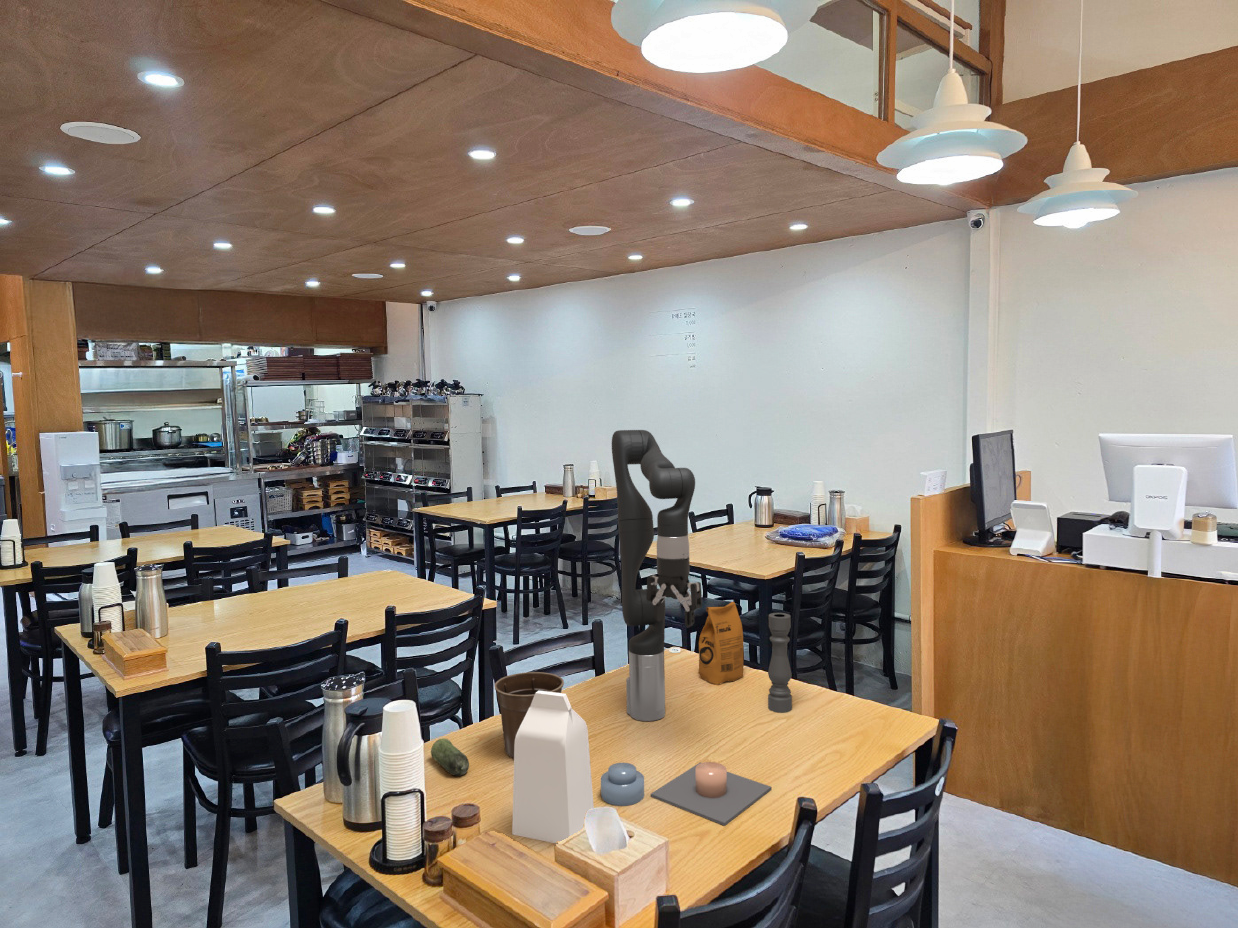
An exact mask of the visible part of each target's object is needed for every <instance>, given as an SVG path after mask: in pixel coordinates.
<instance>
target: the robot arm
mask: <svg viewBox="0 0 1238 928" xmlns="http://www.w3.org/2000/svg"><path fill="white" fill-rule="evenodd" d="M611 455H612V463H613V471H614V477H615V479H614V480H615V486H616V501H617V525H618V526H617V527H618V528H617V529H618V540H619V541H618V542H619V548H620V549H619V550H620V559H621V560H620V561H621V562H620V564H621V609H622V610H621V611H622V618H623V621H624V623H625V625H626V626H627V627H639V626H647V628H645V629H644V630H643V631H641V632H640V633H638V634H636V635H634V636H632V637H631V638H629V641H628V667H629V668H628V669H629V670H628V671H629V672H628V674H629V675H628V677H627V678H626V679H625V680H626V683H625V685H626V714H628V715H629V716H630V717H631V718H633V719H634V720H637V721H643V722H654V721H658V720H661V719H663V718H664V717H665V716H666V696H665V695H666V685H665V683H666V682H665V680H666V678H665V677H666V676H665V637H666V636H665V631H666V629H665V625H666V623H665V622H666V601H665V599H666V598H668V599H670V598H671V599H673V600H678V602H679V603H680V604H681V605H682V606H683V607H684V609H685V611H684V626H685V628H690V627H693V625H694V624H695V611H696V610H699V609H701V608H702V607H703V597H702V595H703V594H702V584H701V582H700V581H696V582H691V581H690V579H689V575H690V540H689V523H688V522H689V514H690V513H689V512H690V507H691V505H692V500H693V496H694V493H695V488H696V477H695V475H694V473H693V471H692V470H691V469H689V468H687V467H676V466H675V465H674V464H673V463H672V462H671V461H670V459H669V458H667V456H665V455H664V453H663V452H662V450H661V448H660V445H659V444H658V441H657V440H656V439H655V436H654V435H653V434H652V433H651V432H650V431H648V430H646V429H620V430H616V431H613V434H612V437H611ZM629 465H639V466H640V471H641V473H642V475H643V476H644V477H645V479H646V480H647V481H648V484H649V485H648V487H649V491H650V494H651V496H653V497H654V498H655V499H658V500H671V499H676V501H675V503H674V504H673V506H670V507H668V508H667V507H666V508H663V509H661V510H660V511H658V513H657V516H656V519H657V538H656V573H657V574H654V575H653V574H652V575H649V576H647V577H646V588H643V589H642V588H640V589H636V585H637V584H636V583H637V578H638V577H637V576H638V573H639V570H640V567H641V566H642V563H643V561H644V560H645V558H646V556H647V554H648V552H649V551H650V548H651V546H652V544H653V541H654V537H655V531H654V518H653V517H654V515H653V512H652V511H653V510H651V507H650V506H649V504H648V503H647V501H646V500H645V498H644V496H642V494H641V493H640V492H639V490H638V489H637V487H636V486H635V484H634V482H633V479H632V476H631V473H630V471H629V467H628V466H629ZM658 587H659V588H658Z"/></svg>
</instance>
